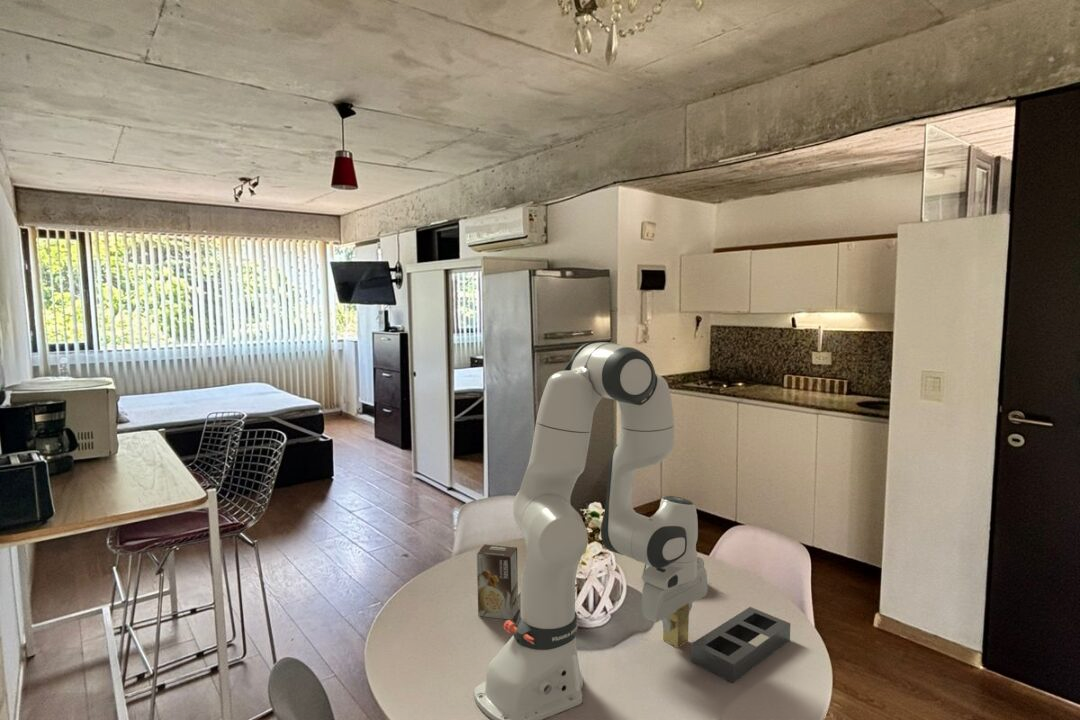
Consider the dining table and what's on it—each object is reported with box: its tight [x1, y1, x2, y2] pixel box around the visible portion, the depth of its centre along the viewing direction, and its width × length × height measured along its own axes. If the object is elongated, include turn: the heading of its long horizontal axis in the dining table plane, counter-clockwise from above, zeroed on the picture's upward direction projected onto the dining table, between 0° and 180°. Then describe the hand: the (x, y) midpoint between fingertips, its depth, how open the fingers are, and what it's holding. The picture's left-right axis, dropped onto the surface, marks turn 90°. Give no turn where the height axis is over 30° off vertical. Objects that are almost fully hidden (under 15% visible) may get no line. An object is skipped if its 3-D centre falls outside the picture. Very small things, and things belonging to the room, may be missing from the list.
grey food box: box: [476, 544, 519, 621], centre depth 147 cm, size 9×6×16 cm
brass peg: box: [662, 603, 690, 648], centre depth 134 cm, size 4×4×9 cm
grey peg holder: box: [690, 606, 791, 684], centre depth 130 cm, size 24×10×4 cm, turn 131°
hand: (675, 625), depth 134 cm, fingers open, 4 cm apart
